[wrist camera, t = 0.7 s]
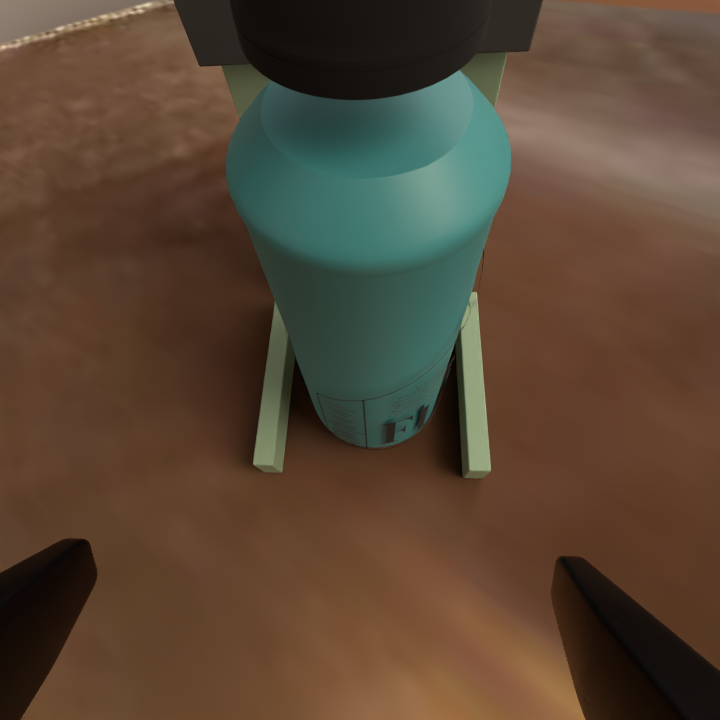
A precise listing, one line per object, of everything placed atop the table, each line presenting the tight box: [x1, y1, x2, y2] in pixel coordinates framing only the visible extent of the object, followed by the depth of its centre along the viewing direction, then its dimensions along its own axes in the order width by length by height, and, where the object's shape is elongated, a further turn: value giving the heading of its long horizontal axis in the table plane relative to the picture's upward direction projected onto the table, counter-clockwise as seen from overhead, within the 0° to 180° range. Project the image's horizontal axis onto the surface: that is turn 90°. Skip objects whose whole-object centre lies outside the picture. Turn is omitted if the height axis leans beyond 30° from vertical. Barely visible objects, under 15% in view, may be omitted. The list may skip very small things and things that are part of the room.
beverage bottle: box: [225, 0, 511, 450], centre depth 14 cm, size 6×7×20 cm
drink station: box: [174, 0, 543, 478], centre depth 18 cm, size 17×11×16 cm, turn 178°
